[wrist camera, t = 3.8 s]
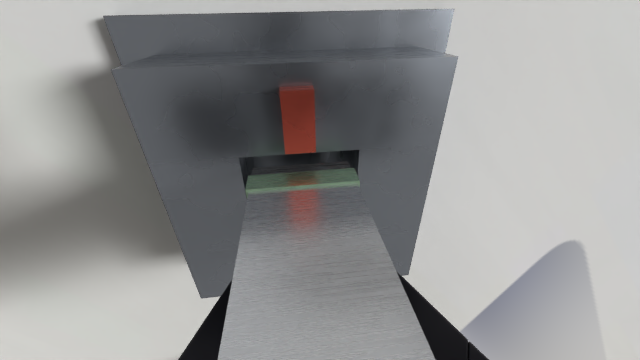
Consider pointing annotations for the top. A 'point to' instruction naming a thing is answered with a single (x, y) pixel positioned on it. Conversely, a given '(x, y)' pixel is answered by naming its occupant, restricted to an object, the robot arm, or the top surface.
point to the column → (315, 274)
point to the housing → (284, 114)
